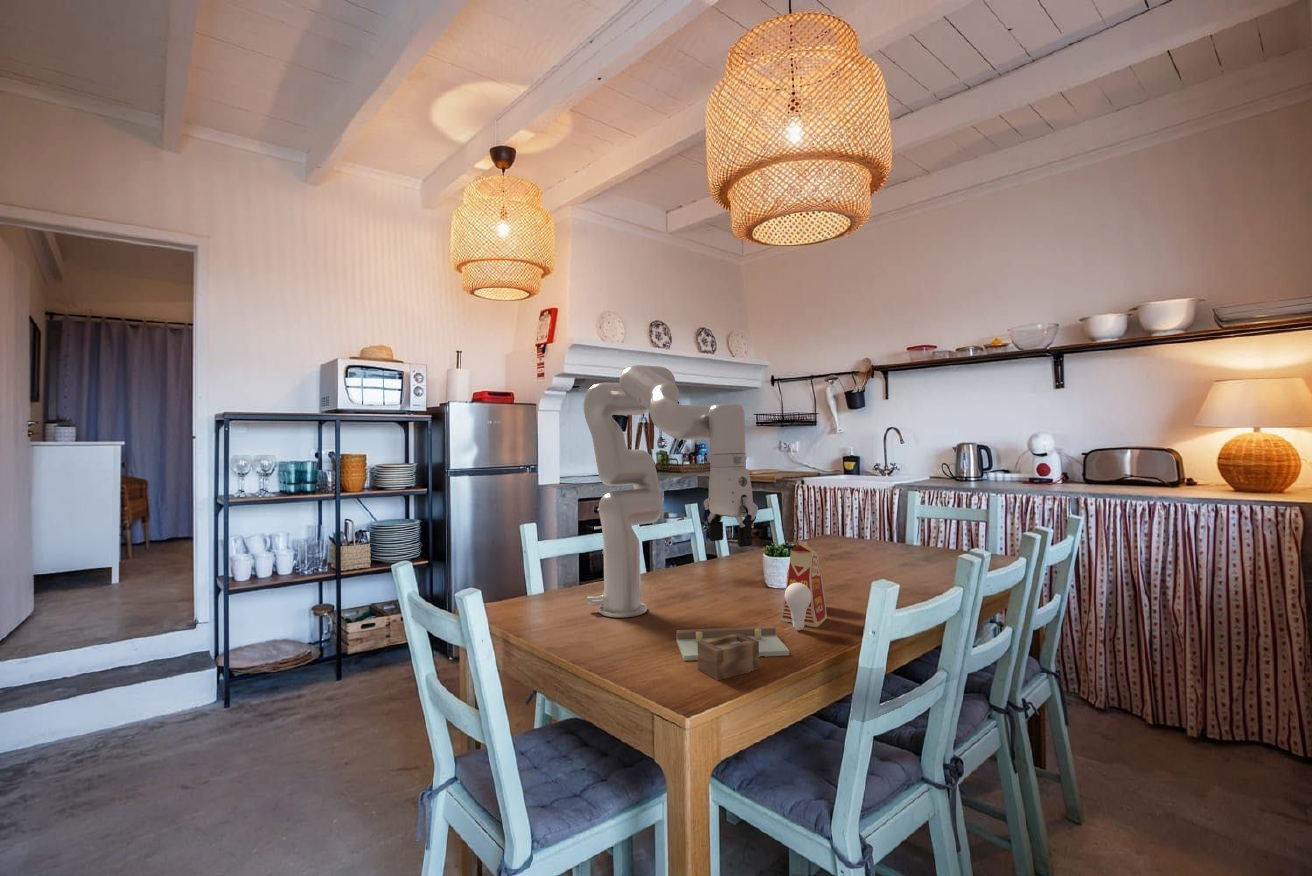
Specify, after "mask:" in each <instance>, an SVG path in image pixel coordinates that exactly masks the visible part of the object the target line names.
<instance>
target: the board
mask: <svg viewBox="0 0 1312 876" xmlns="http://www.w3.org/2000/svg"><path fill="white" fill-rule="evenodd" d="M675 633H676V638H675V639H676V643H677V644H676V645H677V646H678V649H679V651H680V655H681V657H682V660H683V662H686V661H698V642H699V641H703V640H708V639H712V638H717V637H721V636H726V635H730V634H735V633H740V634H742V635H745V636H747V637H749V638H752V639H754V640H756V641H759V658H760V656H765V657H779V656H781V657H783V656H790V650H789V648H787V646H786V645H785V644H784V643H783V641H781V639H780V638H779V637H778V636H777V635H776V634H777V633H776V627H775V626H774V625H762V626H761V625H760V626H759V625H757V626H739V627H734V626H733V627H720V628H713V627H712V628H698V629H696V628H695V629H692V628H691V629H677V630H676V632H675Z"/></svg>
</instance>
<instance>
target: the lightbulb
mask: <svg viewBox="0 0 1312 876" xmlns="http://www.w3.org/2000/svg"><path fill="white" fill-rule="evenodd" d="M811 598H812V595H811V592H810V590H809V588H808V587H807V586H806V585H804V584H802V583H793V584H791V585H789V586H788V587H787V589H786V588H785V591H784V599H785V600H786V602H787V604H788V606H789V608H790V611H791V617H792V619H793V623H792V627H793V629H795V630H796V631H801V630H803V629H804V628H805V625H804V620H805V615H806V610H807V608H808V606H809V604H810V602H811Z"/></svg>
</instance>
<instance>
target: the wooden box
mask: <svg viewBox="0 0 1312 876" xmlns="http://www.w3.org/2000/svg"><path fill="white" fill-rule="evenodd" d="M697 670H698V671H699V672H701V673H703V674H705V675H707V677H710V678H712V679H713V680H715V681H717V682H718V681H720V680H725V679H728V678H733V677H736V676H740V675H743V674H748V673H751V671H752V672H755V671H754V670H756V671H758V670H760V657H759V641H756V640H754V639H752V638H749V637H747V636H745V635H742V634H740V633H735V634H730V635H726V636H721V637H717V638H712V639H708V640H703V641H699V642H698V660H697Z"/></svg>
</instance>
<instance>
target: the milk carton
mask: <svg viewBox="0 0 1312 876" xmlns="http://www.w3.org/2000/svg"><path fill="white" fill-rule="evenodd" d="M820 569H821V566H820V560H819V555H818V553H817V552H816V551H815V550H813V549H812V548H811V547H810V546H809V545H808V541H803V540H802V539H798V545H797V546H795V547H794V548H792V549H791V550H790V556H789V562H788V566H787V571H786V587H785V590H786V589H787V587H788V586H789V585H791V584H793V583H802V584H804V585H806V586H807V587H808V588H809V590H810V592H811V595H812V598H811V602H810V604H809V606H808V608H807V610H806V615H805V620H804V626H806V625H807V627H813V628H818V627H819V626H820V625H822V624H823V622H824V621H825V620H827V619H828V616H827V604H826V598H825V591H824V584H823V576H822V570H820ZM780 617H781V618H780V622H784V623H788V622H791V623H790V624H793V619H792V617H791V611H790V608H789V606H788V604H787V602H786V600H785V598H784V600H783V606H782V611H781V616H780Z"/></svg>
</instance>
